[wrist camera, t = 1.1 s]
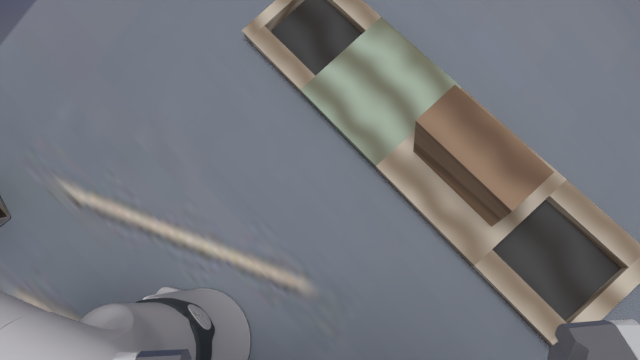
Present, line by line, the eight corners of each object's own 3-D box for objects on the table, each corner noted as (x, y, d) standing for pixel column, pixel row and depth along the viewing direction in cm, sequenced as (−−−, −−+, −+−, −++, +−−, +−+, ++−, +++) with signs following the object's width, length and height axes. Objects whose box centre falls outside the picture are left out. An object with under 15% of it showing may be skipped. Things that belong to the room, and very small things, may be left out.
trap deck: (557, 353, 58) (563, 355, 56) (246, 38, 76) (241, 30, 73) (650, 263, 59) (661, 262, 56) (321, -28, 76) (318, -39, 74)
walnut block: (491, 226, 61) (512, 211, 49) (413, 151, 64) (415, 120, 53) (525, 195, 61) (554, 171, 49) (445, 121, 65) (454, 84, 53)
